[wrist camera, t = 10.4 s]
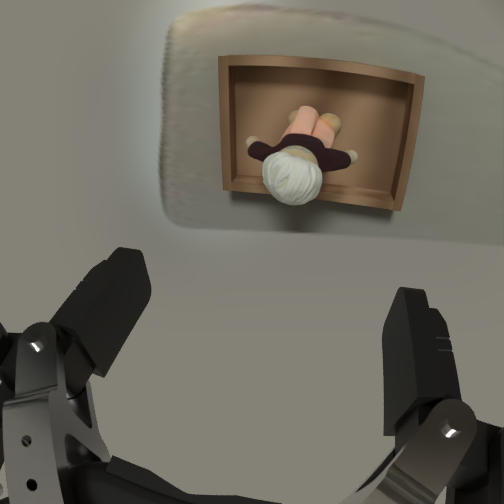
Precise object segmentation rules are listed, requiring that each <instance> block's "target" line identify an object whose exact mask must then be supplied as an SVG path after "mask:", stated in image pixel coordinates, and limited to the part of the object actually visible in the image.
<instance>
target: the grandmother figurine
mask: <svg viewBox="0 0 504 504" xmlns="http://www.w3.org/2000/svg"><path fill="white" fill-rule="evenodd" d="M288 123H289V126H288V128H287V129H286V131H285V132H284V134H283V135H282V138H281V139H280V141H279V144H277V145H276V146H274V147H271V146H270V145H268V144H266V143H263V142H261V141H260V140H259V138H257V137H256V136H250V137H248V138H247V140H246V146H247V147H248V151H247V153H248V155H249V156H250V157H252V158H254V159H257V160H259V161H262V162H263V165H262V176H263V180H264V181H263V183H264V184H265V186H266V188H267V189H268V191H269V192H270V193H271V194H272V196H273V197H275V198H276V199H277V200H278V201H280V202H282V203H285V204H288V205H302V204H305V203H306V202H308V201H311V200H313V199H314V198H316V197H317V195H318V193H319V191H320V188H321V185H322V173H324V172H329V171H336V170H341V169H346V168H348V167H349V166H350V165H352V164H354V163H356V162H357V160H358V154H357V153H356V152H355V151H354V150H347V151H341V150H336V149H331V148H332V145H333V142H334V138H335V137H336V135H337V134H338V132H339V130H340V129H341V120H340V119H339V117H337V116H336V115H334V114H331V113H325V114H323V115H321V116H320V117H319V114H318V112H317V111H316V110H315V109H314V108H312V107H310V106H301V107H300V108H299V110H295V111H293V112H291V113H290V115H289V117H288Z"/></svg>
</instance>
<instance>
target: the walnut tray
mask: <svg viewBox="0 0 504 504" xmlns="http://www.w3.org/2000/svg"><path fill="white" fill-rule="evenodd" d="M218 72H219V105H220V133H221V157H222V178H223V190H229V191H241V192H251V193H262V194H271V193H270V192H269V191H268V189H267V188H266V186H265V184H264V183H263V181H264V180H263V176H262V165H263V162H262V161H259V160H257V159H254V158H252V157H250V156H249V155H248V153H247V151H248V147H247V146H246V140H247V138H248V137H250V136H256V137H257V138H259V140H260V141H261V142H263V143H266V144H268V145H270V146H271V147H274V146H276V145H277V144H279V141H280V139H281V138H282V135H283V134H284V132H285V131H286V129H287V128H288V126H289V123H288V117H289V115H290V113H291V112H293V111H295V110H299V108H300V107H301V106H310V107H312V108H314V109H315V110H316V111H317V112H318V114H319V117H320V116H321V115H323V114H325V113H331V114H334V115H336V116H337V117H339V119H340V120H341V129H340V130H339V132H338V134H337V135H336V137H335V138H334V142H333V145H332V148H331V149H336V150H341V151H347V150H354V151H355V152H356V153H357V154H358V160H357V162H356V163H354V164H352V165H350V166H349V167H348V168H346V169H341V170H336V171H329V172H324V173H322V185H321V188H320V191H319V193H318V195H317V197H316V198H314V199H317V200H325V201H333V202H340V203H348V204H355V205H362V206H369V207H376V208H383V209H389V210H396V211H401V208H402V204H403V200H404V196H405V191H406V187H407V183H408V178H409V173H410V169H411V164H412V159H413V154H414V148H415V143H416V137H417V131H418V125H419V119H420V112H421V105H422V98H423V90H424V81H425V77H424V76H421V75H418V74H415V73H410V72H406V71H401V70H396V69H391V68H386V67H380V66H374V65H368V64H362V63H355V62H348V61H340V60H331V59H322V58H310V57H296V56H275V55H226V56H218Z"/></svg>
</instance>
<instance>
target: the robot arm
mask: <svg viewBox="0 0 504 504" xmlns="http://www.w3.org/2000/svg"><path fill="white" fill-rule="evenodd" d="M150 296H151V283H150V280H149V276H148V273H147V268H146V264H145V261H144V256H143V253H142V252H141V251H140V250H136V249H130V248H123V247H119V248H117V249H116V250H115V251H114V252H113V253H112V254H111V255H110V257H109V258H108V259H107V260H104V261H102V262H101V263H99V264H98V265H96V266H95V267H93V268H92V269H91V270H90V271H89V272H88V274H87V275H86V276H85V277H84V279H83V281H81V282H80V283H79V284H78V286H77V287H76V290H74V291H73V292H72V293H71V295H70V296H69V297H68V298H67V299H66V301H65V302H64V303H63V304H62V306H61V307H60V308H59V310H58V311H57V312H56V314H55V315H54V316H53V318H52V319H51V320H50V321H49V322H48V323H47V322H38V323H35V324H32V325H31V326H29V327H28V328H27V329H25V331H24V332H23V333H7V332H6V330H5V328H4V327H3V326H2V324H1V323H0V380H1V381H2V383H1V384H0V469H1V467H2V465H3V462H4V461H5V472H6V480H7V488H8V495H9V497H6V498H4V499H1V500H0V504H281V503H274V502H269V501H263V500H257V499H252V498H247V497H241V496H237V495H235V496H234V495H233V496H232V495H231V496H229V495H226V496H225V495H220V496H219V495H195V494H188V493H185V492H183V491H181V490H180V489H178V488H176V487H175V486H173V485H171V484H170V483H168V482H167V481H165V480H163V479H162V478H160V477H159V476H157V475H156V474H154V473H153V472H151V471H150V470H148V469H145V468H142V467H140V466H137V465H135V464H132V463H130V462H127V461H125V460H122V459H120V458H118V457H115V456H112V458H110V455H109V452H108V449H107V447H106V445H105V443H104V441H103V440H102V438H101V436H100V433H99V430H98V425H97V420H96V414H95V409H94V403H93V397H92V390H91V385H90V381H89V380H88V379H89V378H90V376H91V374H92V373H93V374H96V375H98V376H101V377H103V378H104V377H105V376H106V374H107V372H108V370H109V369H110V367H111V365H112V363H113V362H114V360H115V358H116V356H117V355H118V353H119V351H120V349H121V348H122V346H123V344H124V342H125V341H126V339H127V337H128V336H129V334H130V332H131V331H132V329H133V327H134V325H135V324H136V322H137V320H138V319H139V317H140V316H141V314H142V312H143V311H144V309H145V307H146V306H147V304H148V302H149V300H150ZM449 337H450V336H449V332H448V328H447V324H446V321H445V320H444V318H443V317H442V315H441V314H440V312H439V311H438V310H437V309H435V308H429V305H428V301H427V297H426V293H425V291H424V290H423V289H414V288H406V287H400V288H399V289H398V291H397V293H396V296H395V299H394V301H393V303H392V306H391V308H390V311H389V313H388V316H387V318H386V320H385V323H384V327H383V333H382V350H383V376H384V436H395V446H394V447H393V448H392V450H391V451H390V452H389V453H388V455H387V456H386V457H385V458H384V459H383V460H382V461H381V463H380V464H379V465H378V466H377V467H376V468H375V469H374V471H373V472H372V473H371V474H370V475H369V476H368V477H367V478H366V479H365V480H364V481H363V482H362V483H361V484H360V485H359V487H358V488H357V489H356V490H355V491H354V492H353V493H352V494H350V495H349V496H348V497H347V498H346V499H345V500H343V501H342V502H341V503H340V504H434V503H435V501H436V499H437V498H438V496H439V495H440V493H441V492H442V490H443V489H444V487H445V486H447V490H446V502H445V504H504V427H503V428H501V427H497V426H494V425H491V424H487V423H485V422H482V421H479V420H477V419H476V416H475V414H474V412H473V410H472V409H471V408H470V406H469V405H467V404H466V403H464V402H463V401H462V399H461V394H460V388H459V381H458V375H457V370H456V365H455V360H454V355H453V352H452V345H451V341H450V340H449ZM2 493H3V487H2V485H1V484H0V496H1V495H2Z"/></svg>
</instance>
